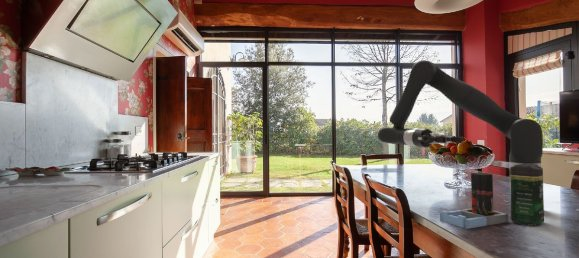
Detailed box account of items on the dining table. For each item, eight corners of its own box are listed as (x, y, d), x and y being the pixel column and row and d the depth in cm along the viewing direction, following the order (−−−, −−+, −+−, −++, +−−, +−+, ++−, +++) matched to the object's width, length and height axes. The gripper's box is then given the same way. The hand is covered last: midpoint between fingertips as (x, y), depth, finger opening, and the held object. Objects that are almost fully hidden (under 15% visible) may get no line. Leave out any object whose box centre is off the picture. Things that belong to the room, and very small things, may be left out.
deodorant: (494, 223, 93) (492, 175, 93) (472, 220, 96) (470, 174, 96) (493, 218, 98) (491, 173, 98) (472, 216, 101) (470, 172, 102)
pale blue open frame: (479, 214, 103) (479, 205, 103) (507, 221, 94) (507, 211, 94) (440, 220, 97) (439, 210, 97) (466, 228, 88) (465, 217, 88)
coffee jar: (540, 228, 87) (537, 165, 88) (507, 222, 93) (505, 163, 94) (548, 222, 93) (545, 163, 94) (517, 217, 99) (515, 161, 100)
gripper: (405, 128, 119) (440, 129, 104) (430, 128, 125) (467, 130, 110) (404, 146, 119) (439, 150, 104) (430, 146, 125) (467, 150, 110)
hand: (454, 140), depth 107 cm, fingers open, 8 cm apart
